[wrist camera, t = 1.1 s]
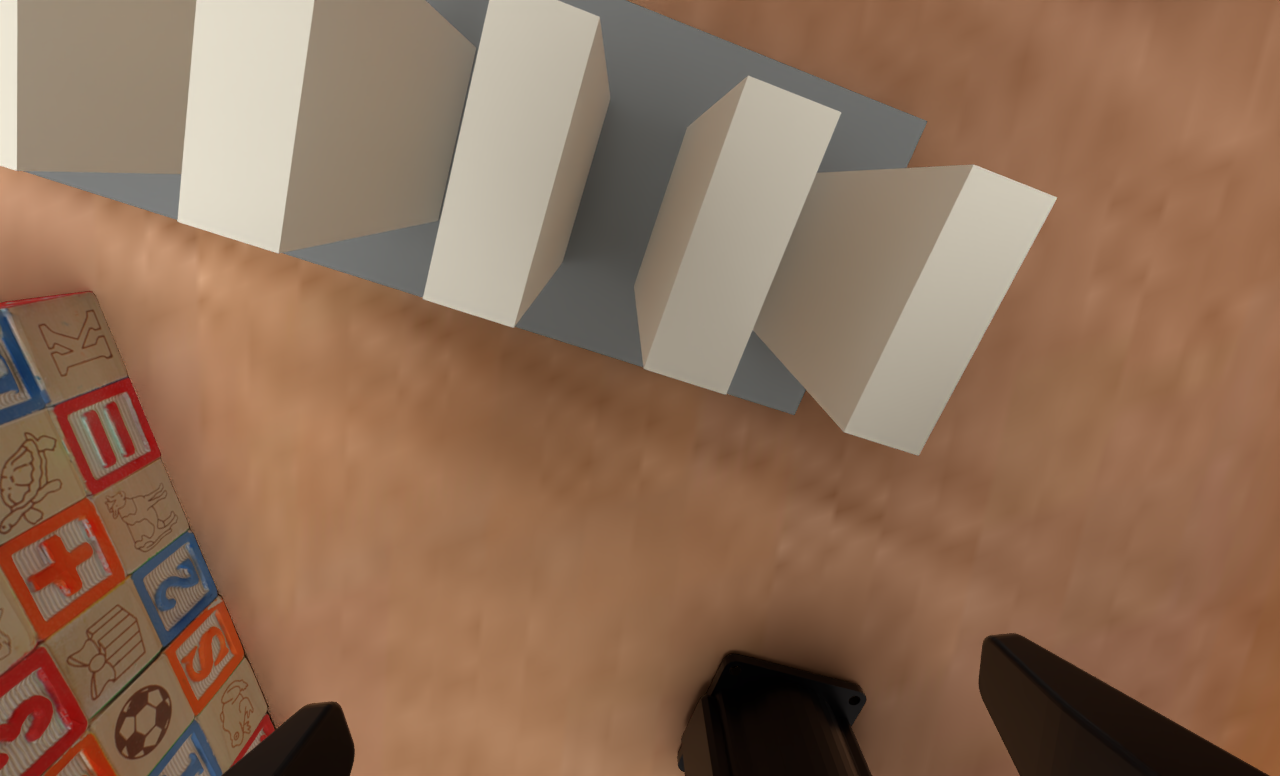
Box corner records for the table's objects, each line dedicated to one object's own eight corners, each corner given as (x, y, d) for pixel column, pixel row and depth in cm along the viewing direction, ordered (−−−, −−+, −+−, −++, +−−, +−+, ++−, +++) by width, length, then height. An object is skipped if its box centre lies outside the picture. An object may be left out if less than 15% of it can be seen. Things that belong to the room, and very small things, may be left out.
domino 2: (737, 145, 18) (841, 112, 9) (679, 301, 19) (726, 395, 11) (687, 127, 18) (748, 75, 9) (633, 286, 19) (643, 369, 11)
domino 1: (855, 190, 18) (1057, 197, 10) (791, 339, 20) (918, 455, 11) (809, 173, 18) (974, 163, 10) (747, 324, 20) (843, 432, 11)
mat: (917, 123, 18) (927, 121, 18) (789, 408, 21) (794, 414, 21) (7, -241, 15) (-17, -258, 14) (7, 160, 18) (-13, 160, 17)
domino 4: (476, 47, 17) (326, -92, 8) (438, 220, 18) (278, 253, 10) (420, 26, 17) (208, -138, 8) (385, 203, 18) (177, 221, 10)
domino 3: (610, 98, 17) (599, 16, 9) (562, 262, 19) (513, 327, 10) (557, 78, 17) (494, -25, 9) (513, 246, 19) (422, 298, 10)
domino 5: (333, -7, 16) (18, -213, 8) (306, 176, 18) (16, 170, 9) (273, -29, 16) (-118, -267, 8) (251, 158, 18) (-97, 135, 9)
